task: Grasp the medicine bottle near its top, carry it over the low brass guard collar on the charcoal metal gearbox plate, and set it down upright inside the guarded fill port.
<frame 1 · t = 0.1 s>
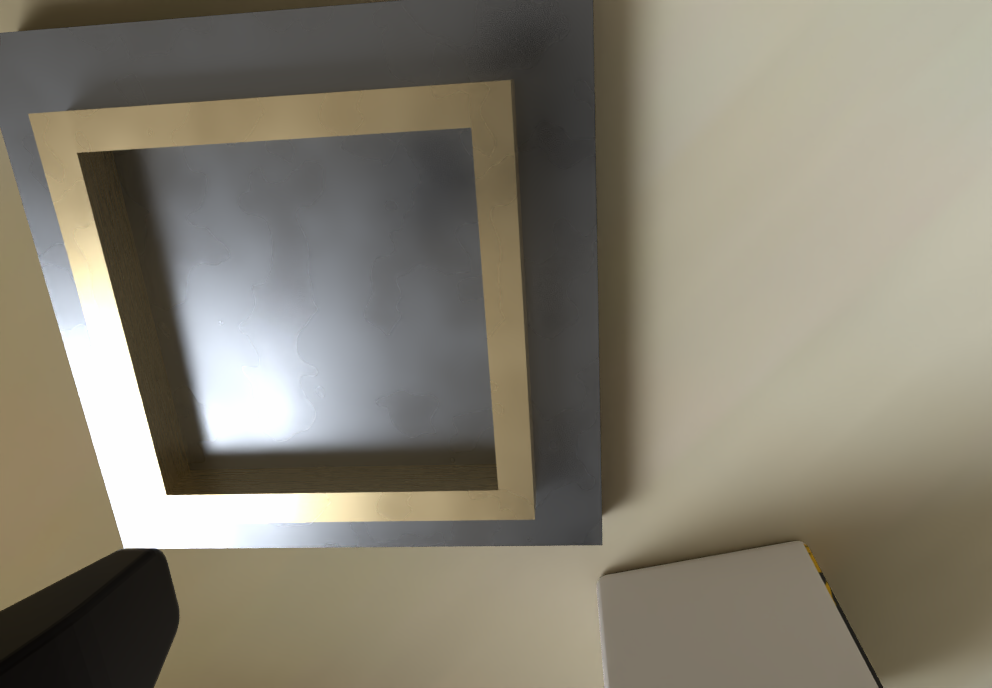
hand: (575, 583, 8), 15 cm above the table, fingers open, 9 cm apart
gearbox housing: (333, 299, 22), on the table
medicine bottle: (714, 631, 26), on the table
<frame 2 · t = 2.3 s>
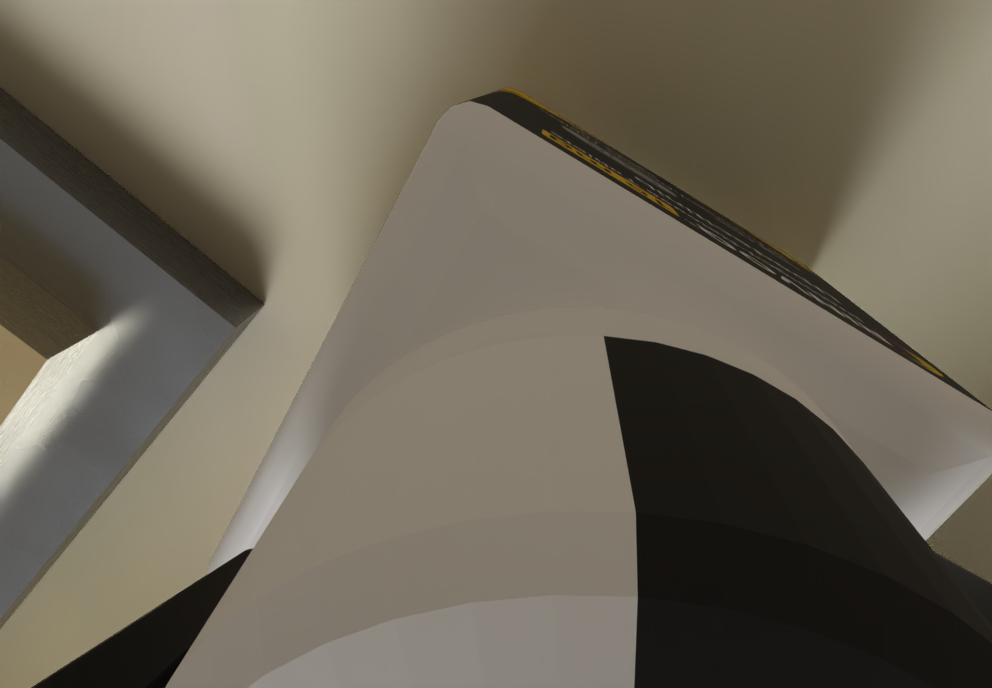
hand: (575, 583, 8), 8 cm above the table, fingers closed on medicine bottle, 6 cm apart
medicine bottle: (565, 325, 15), on the table, touching gripper
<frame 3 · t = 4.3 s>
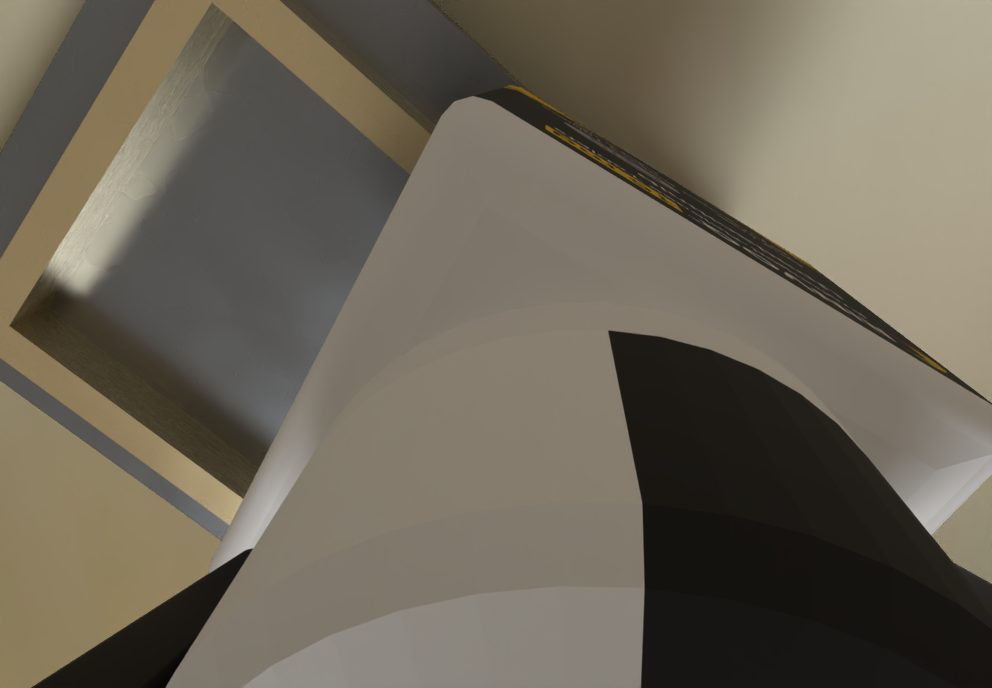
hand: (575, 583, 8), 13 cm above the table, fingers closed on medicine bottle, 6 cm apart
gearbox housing: (310, 282, 21), on the table
medicine bottle: (567, 322, 15), point 5 cm above the table, touching gripper
when the fingers open (10 cm above the table, at t = 6.3 s): medicine bottle stays where it is, resting on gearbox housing.
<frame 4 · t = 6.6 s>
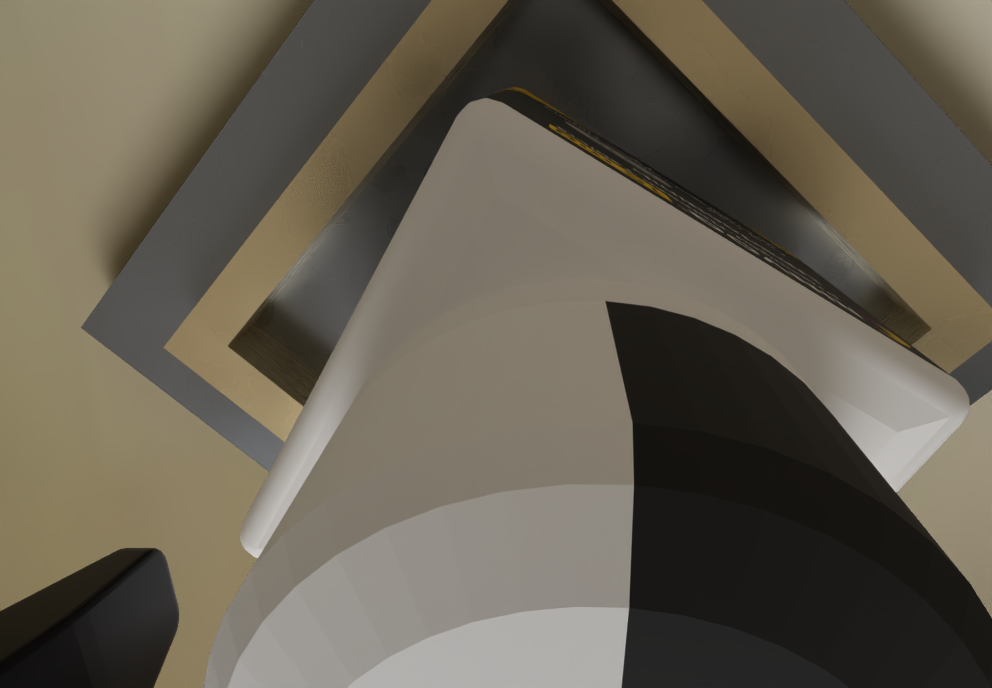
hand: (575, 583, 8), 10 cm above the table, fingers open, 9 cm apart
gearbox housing: (562, 294, 17), on the table
medicine bottle: (566, 310, 16), point 1 cm above the table, touching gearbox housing
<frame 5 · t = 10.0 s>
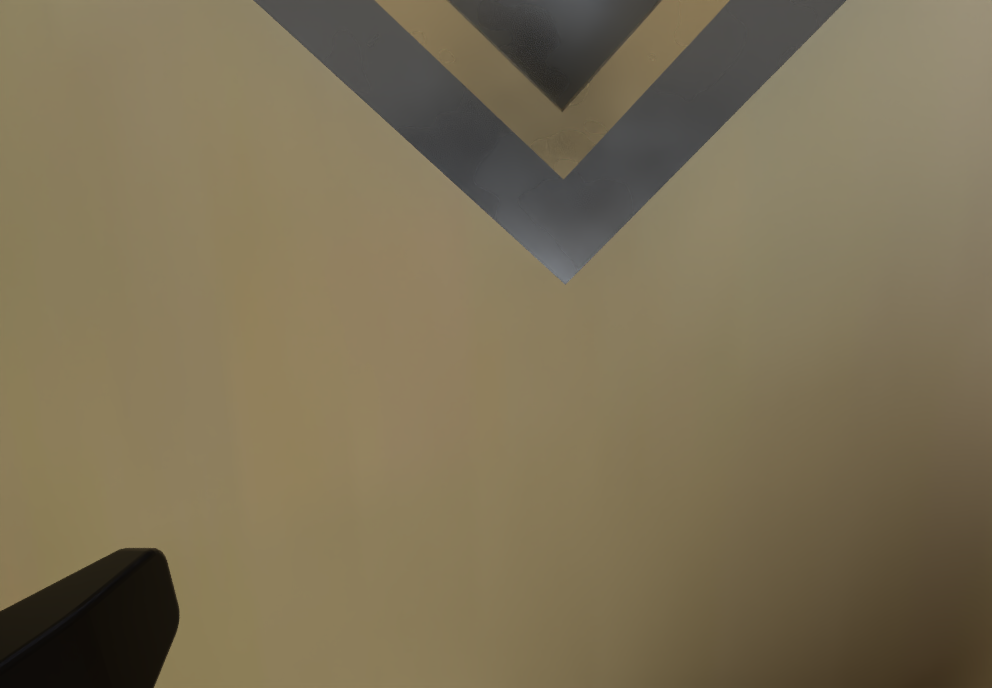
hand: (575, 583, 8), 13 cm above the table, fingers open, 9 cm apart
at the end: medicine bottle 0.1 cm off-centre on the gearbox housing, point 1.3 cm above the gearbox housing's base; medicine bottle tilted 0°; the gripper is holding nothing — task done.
